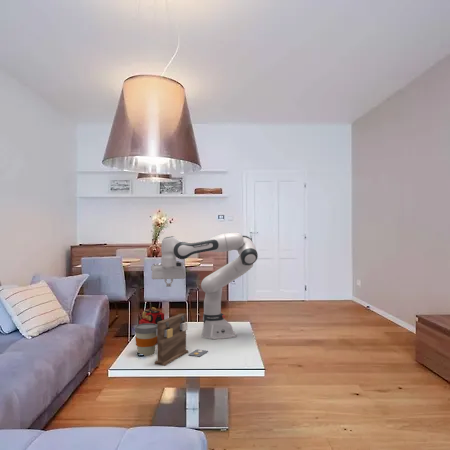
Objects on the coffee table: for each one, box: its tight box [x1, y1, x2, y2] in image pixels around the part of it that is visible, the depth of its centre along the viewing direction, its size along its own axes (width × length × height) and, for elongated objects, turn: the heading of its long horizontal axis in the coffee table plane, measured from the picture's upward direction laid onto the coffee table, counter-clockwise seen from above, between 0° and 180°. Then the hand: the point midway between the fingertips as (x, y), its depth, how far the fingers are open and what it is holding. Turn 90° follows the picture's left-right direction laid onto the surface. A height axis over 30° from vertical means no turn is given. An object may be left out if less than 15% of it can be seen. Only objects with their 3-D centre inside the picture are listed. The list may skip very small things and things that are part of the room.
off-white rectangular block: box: [180, 321, 188, 331], centre depth 198 cm, size 7×4×4 cm, turn 66°
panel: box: [154, 312, 189, 367], centre depth 191 cm, size 6×23×21 cm, turn 156°
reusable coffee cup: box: [134, 323, 157, 357], centre depth 199 cm, size 13×13×15 cm
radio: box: [138, 306, 165, 325], centre depth 221 cm, size 16×10×20 cm, turn 41°
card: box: [187, 348, 209, 358], centre depth 198 cm, size 7×10×1 cm
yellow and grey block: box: [156, 328, 173, 338], centre depth 185 cm, size 7×4×4 cm, turn 66°
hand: (168, 286), depth 218 cm, fingers closed
